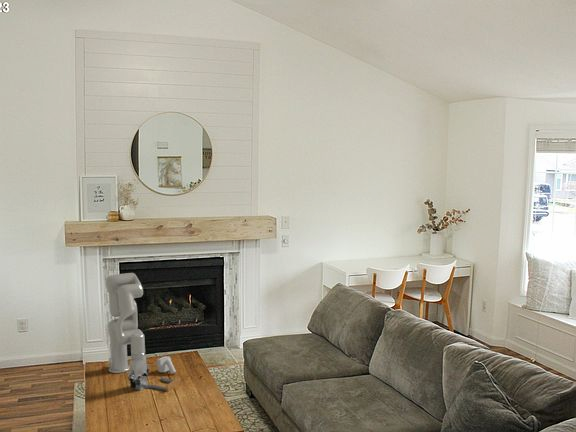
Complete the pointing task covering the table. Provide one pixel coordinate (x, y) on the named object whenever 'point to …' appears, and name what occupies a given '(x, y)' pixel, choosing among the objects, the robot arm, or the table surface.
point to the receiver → (168, 387)
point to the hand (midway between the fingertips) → (139, 384)
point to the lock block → (140, 382)
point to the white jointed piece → (165, 365)
